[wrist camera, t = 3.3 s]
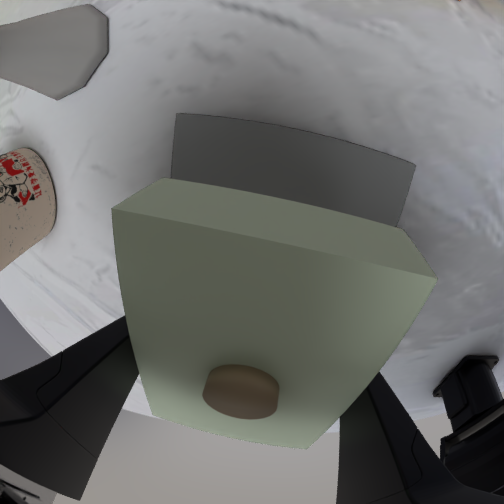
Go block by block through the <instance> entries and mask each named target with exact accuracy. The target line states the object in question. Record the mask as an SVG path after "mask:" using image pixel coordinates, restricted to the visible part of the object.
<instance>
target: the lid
mask: <svg viewBox="0 0 504 504" xmlns="http://www.w3.org/2000/svg"><path fill="white" fill-rule="evenodd" d="M111 209H112V223H113V235H114V245H115V254H116V262H117V270H118V276H119V283H120V289H121V295H122V301H123V306H124V311H125V316H126V321H127V326H128V330H129V335H130V339H131V343H132V348H133V351H134V355H135V359H136V363H137V367H138V370H139V374H140V377H141V381H142V384H143V387H144V390H145V394H146V397H147V400H148V403H149V406H150V409H151V411H152V414H153V415H154V416H157V417H160V418H163V419H165V420H168V421H171V422H174V423H178V424H181V425H184V426H187V427H191V428H194V429H198V430H201V431H205V432H209V433H212V434H217V435H221V436H225V437H229V438H234V439H239V440H244V441H249V442H255V443H261V444H267V445H273V446H281V447H289V448H299V449H308V448H309V447H310V446H311V445H312V444H313V443H314V442H315V441H316V440H317V439H318V438H319V437H320V436H321V435H322V434H324V433H325V432H326V431H327V430H328V429H329V428H330V427H331V426H332V425H333V424H334V423H335V421H336V420H337V419H338V418H339V417H340V416H341V415H342V414H343V413H344V412H345V411H346V410H347V409H348V408H349V406H350V405H351V404H352V403H353V402H354V401H355V400H356V399H357V397H358V396H359V395H360V394H361V393H362V392H363V390H364V389H365V388H366V387H367V386H368V384H369V383H370V382H371V381H372V379H373V378H374V377H375V376H376V374H377V373H378V372H379V371H380V369H381V368H382V367H383V365H384V364H385V363H386V361H387V360H388V359H389V357H390V356H391V355H392V353H393V352H394V350H395V349H396V348H397V346H398V345H399V343H400V342H401V340H402V339H403V337H404V336H405V334H406V333H407V331H408V330H409V328H410V327H411V325H412V324H413V322H414V320H415V319H416V317H417V316H418V314H419V312H420V311H421V309H422V307H423V306H424V304H425V302H426V300H427V299H428V297H429V295H430V293H431V292H432V290H433V288H434V286H435V284H436V282H437V280H438V278H437V277H436V275H435V274H434V272H433V271H432V269H431V268H430V266H429V265H428V263H427V262H426V260H425V259H424V257H423V256H422V255H421V253H420V252H419V250H418V249H417V248H416V246H415V245H414V244H413V242H412V241H411V240H410V238H409V237H408V236H407V234H406V233H405V232H404V230H403V229H400V228H397V227H393V226H390V225H386V224H383V223H379V222H375V221H372V220H368V219H364V218H361V217H357V216H353V215H349V214H345V213H341V212H337V211H333V210H329V209H325V208H321V207H317V206H312V205H308V204H304V203H299V202H295V201H290V200H286V199H281V198H276V197H272V196H267V195H262V194H257V193H252V192H247V191H241V190H236V189H231V188H225V187H220V186H214V185H208V184H202V183H196V182H190V181H183V180H177V179H170V178H161V179H160V180H158V181H156V182H154V183H153V184H151V185H149V186H147V187H146V188H144V189H142V190H140V191H139V192H137V193H135V194H134V195H132V196H130V197H129V198H127V199H126V200H124V201H122V202H121V203H119V204H118V205H116V206H114V207H113V208H111Z"/></svg>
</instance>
